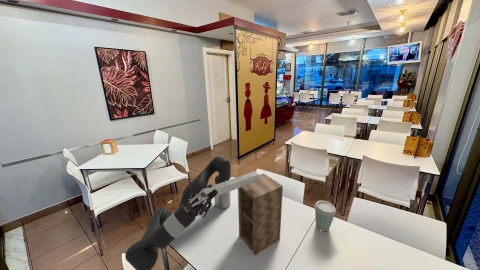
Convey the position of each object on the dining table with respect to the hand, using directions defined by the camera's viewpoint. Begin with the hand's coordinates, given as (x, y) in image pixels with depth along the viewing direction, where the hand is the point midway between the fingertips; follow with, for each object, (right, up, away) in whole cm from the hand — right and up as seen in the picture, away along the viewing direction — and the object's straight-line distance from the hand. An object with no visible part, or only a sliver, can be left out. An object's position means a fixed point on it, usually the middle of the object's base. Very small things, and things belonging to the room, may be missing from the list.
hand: (214, 188), depth 78 cm
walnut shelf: (+20, -33, +24) cm, 45 cm away
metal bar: (+7, -1, +5) cm, 9 cm away
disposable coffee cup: (+56, -30, +29) cm, 70 cm away
